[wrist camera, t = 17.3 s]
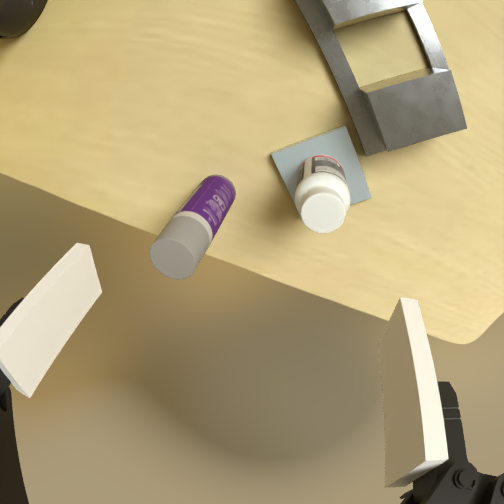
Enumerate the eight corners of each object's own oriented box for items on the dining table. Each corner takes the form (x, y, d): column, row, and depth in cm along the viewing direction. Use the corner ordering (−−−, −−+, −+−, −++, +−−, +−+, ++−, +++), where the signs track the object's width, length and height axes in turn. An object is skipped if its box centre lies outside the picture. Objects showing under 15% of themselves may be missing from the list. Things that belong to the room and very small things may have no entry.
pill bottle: (317, 205, 37) (317, 250, 29) (288, 171, 36) (279, 208, 28) (354, 179, 35) (365, 219, 27) (325, 143, 33) (328, 172, 25)
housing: (283, -19, 24) (276, -34, 19) (390, -49, 19) (403, -66, 14) (365, 154, 34) (373, 171, 29) (462, 125, 29) (485, 138, 24)
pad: (272, 152, 36) (271, 154, 35) (345, 125, 32) (346, 126, 32) (302, 216, 40) (301, 220, 39) (370, 194, 36) (371, 197, 35)
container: (242, 186, 39) (205, 255, 27) (225, 214, 42) (185, 289, 29) (210, 167, 38) (157, 227, 26) (194, 196, 41) (142, 263, 29)
